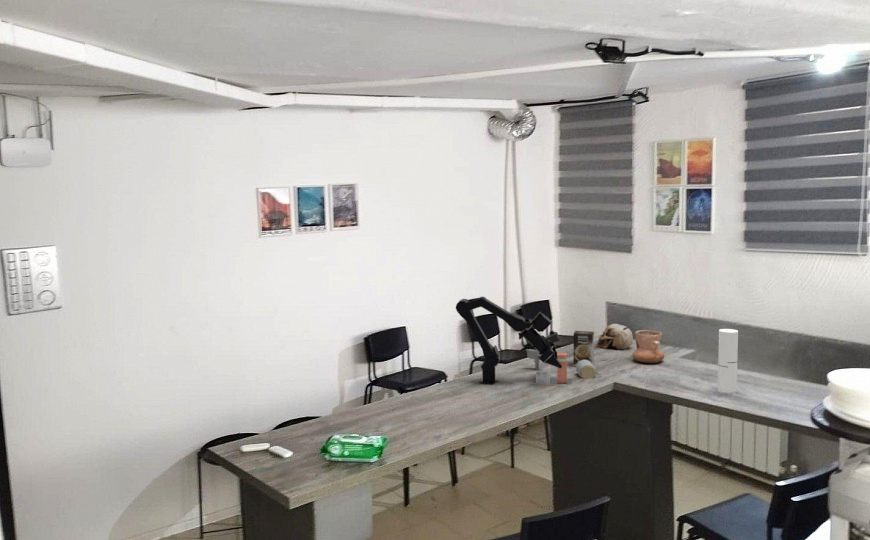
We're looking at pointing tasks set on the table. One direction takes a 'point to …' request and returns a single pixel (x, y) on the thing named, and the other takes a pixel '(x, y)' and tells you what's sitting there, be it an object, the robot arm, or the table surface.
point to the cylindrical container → (727, 360)
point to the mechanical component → (534, 357)
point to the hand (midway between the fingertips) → (561, 364)
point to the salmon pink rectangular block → (562, 368)
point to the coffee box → (583, 347)
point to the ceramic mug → (586, 369)
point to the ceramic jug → (648, 347)
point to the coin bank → (616, 337)
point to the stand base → (554, 381)
